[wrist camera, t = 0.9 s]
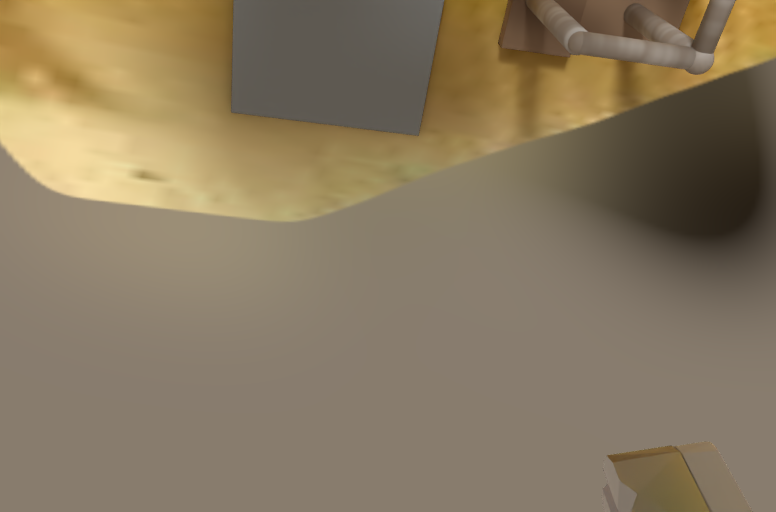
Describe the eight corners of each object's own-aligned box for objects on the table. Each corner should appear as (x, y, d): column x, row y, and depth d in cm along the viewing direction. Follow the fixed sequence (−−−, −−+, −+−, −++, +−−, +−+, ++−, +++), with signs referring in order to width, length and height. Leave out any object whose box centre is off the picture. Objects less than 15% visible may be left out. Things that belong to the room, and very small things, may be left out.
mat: (235, -35, 43) (234, -33, 43) (443, -3, 45) (444, -1, 45) (232, 109, 49) (231, 112, 48) (417, 132, 50) (418, 135, 50)
